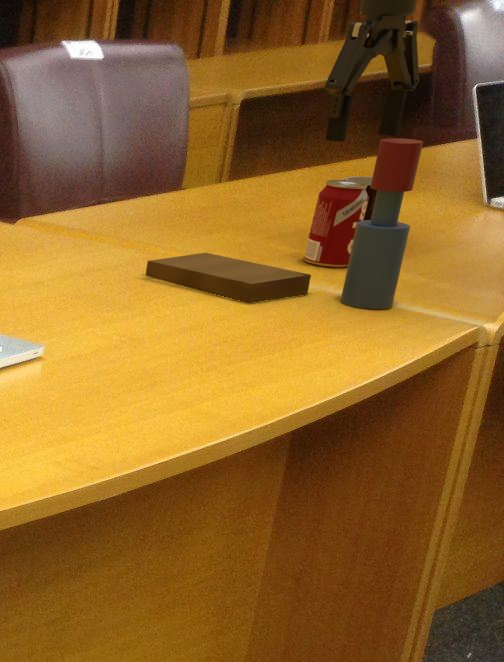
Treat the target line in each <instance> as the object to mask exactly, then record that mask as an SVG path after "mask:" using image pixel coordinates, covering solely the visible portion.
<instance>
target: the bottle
mask: <svg viewBox="0 0 504 662" xmlns="http://www.w3.org/2000/svg"><path fill="white" fill-rule="evenodd" d="M404 194H405V192H391V191H381V190H377V194H376V199H375V204H374V208H373V213H372V218H371V220H364V221H359V222H357V225H356V230H355V235H354V239H353V244H352V249H351V253H350V258H349V263H348V267H346V273H345V278H344V281H343V287H342V292H341V297H340V301H339V302H340V304H342V305H344V306H347V307H350V306H351V308H357V309H362V310H363V309H364V310H385V309H386V310H387V309H390V308H392V307H393V304H394V299H395V295H396V290H397V286H398V282H399V277H400V275H401V274H400V273H401V269H402V265H403V264H402V263H403V260H404V259H403V258H404V256H405V251H406V246H407V242H408V238H409V234H410V231H411V225H409V224H408V223H404V222H400V221H399V218H400V213H401V210H402V209H401V208H402V204H403V200H404Z"/></svg>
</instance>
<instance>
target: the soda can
mask: <svg viewBox="0 0 504 662" xmlns="http://www.w3.org/2000/svg"><path fill="white" fill-rule="evenodd" d="M325 184H326V185H325V186H324V187H323V188H322V190H321V191H320V192H319V193H318V197H317V200H316V203H315V204H316V205H315V209H314V213H313V217H312V220H311V225H310V229H309V234H308V238H307V242H306V247H305V251H304V256H303V261H304V262H306V263H308V264H310V265H313V266H317V267H323V268H332V269H339V268H341V269H342V268H348V263H349V258H350V253H351V249H352V244H353V239H354V235H355V230H356V225H357V222H359V221H363V220H364V216H365V212H366V208H367V204H368V200H369V197H368V194H367V192H366V188H367V184H365V183H362V182H357V181H349V180H345V179H329V180H326V183H325Z"/></svg>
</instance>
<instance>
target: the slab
mask: <svg viewBox="0 0 504 662" xmlns="http://www.w3.org/2000/svg"><path fill="white" fill-rule="evenodd" d="M146 263H147V264H146V268H145V269H146V270H145V276H146V277H150V278H153V279H157V280H161V281H163V282H168V283H172V284H174V285H179V286H182V287H186V288H189V289H193V290H196V291H200V292H203V291H204V293H207V292H208V293H207V294H210V293H212V294H211V295H214V294H216V295H215V296H217V295H220V296H219V297H221V296H224V297H223V298H225V297H228V298H232V299H235V300H240V301H243V302H246V303H252V302H259V301H265V300H271V299H278V300H280V299H279V298H285V297H291V298H293V297H292V296H298V297H300V296H299V295H304V296H307V295H308V294H309V293H308V292H309V288H310V282H311V277H312V274H310V273H305V272H300V271H296V270H290V269H286V268H282V267H277V266H273V265H272V266H271V265H268V264H262V263H257V262H253V261H248V260H243V259H237V258H233V257H228V256H223V255H219V254H215V253H209V252H201V253H193V254H186V255H179V256H173V257H172V256H171V257H164V258H157V259H152V260H147V262H146ZM306 294H307V295H306ZM228 298H227V299H228ZM232 299H231V300H232ZM285 299H286V298H285ZM235 300H234V301H235ZM265 302H266V301H265ZM246 303H245V304H246ZM259 303H260V302H259ZM252 304H253V303H252Z"/></svg>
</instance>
